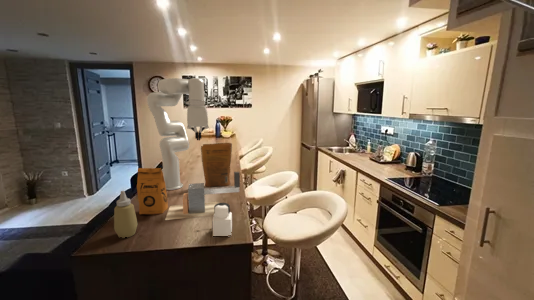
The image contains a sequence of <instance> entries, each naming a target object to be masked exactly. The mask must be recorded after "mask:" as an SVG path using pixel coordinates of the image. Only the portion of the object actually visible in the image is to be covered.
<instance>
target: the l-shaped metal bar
mask: <svg viewBox="0 0 534 300" xmlns="http://www.w3.org/2000/svg"><path fill="white" fill-rule="evenodd" d="M240 175H241V174H240V171H234V172H233V180H234V182H233V185H228V186H217V187H204V195H217V194H228V193H230V194H231V193H240V188H241V187H240V186H241V178H240Z"/></svg>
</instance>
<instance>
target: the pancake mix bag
mask: <svg viewBox="0 0 534 300" xmlns="http://www.w3.org/2000/svg"><path fill="white" fill-rule="evenodd" d="M232 150H233V143H231V142H218V143H217V142H216V143H204V144H202V145H200V155H201V163H202V170H203V171H202V172H203V176H204V180H205V182H204V187H206V188H214V187H228V186H231V178H230V175H231V163H232V152H233V151H232Z"/></svg>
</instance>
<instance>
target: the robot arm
mask: <svg viewBox="0 0 534 300" xmlns="http://www.w3.org/2000/svg"><path fill="white" fill-rule="evenodd" d="M157 88H158V90H159V92H157V91H156V92H150V93H148V94H147V97H146V103H147V106H148V109H149V112H150V113H151V114H152V116H153V119H154V122H155V126H156V129H157V132H158V134H159V136H161V137H164V138H162V139H161V140H160V141H159V148H160V152H161V160H162V172H163V177H164V181H165V185H166V191H172V190H179V189H181V188H182V187H184V184H183V183H182V182H181V173H180V171H181V170H180V159H179V156H178V155H177V154H176V153H177V152H178V153H179V152H184V151H185V152H186V151H187V150H189V148H190V142H189V137H188V134H187V130H186V128H187V129H188V130H192V131H193V132H194V133H195V134H194V137H195V138H194V139H196V141H201V139H202V138H203V137H202V132H203V131H204V130H207V129H209V128H210V127H209V116H208V109H207V106H205V105H206V103H205V102H206V101H205V81H204V80H203V79H202V78H199V77H196V78H193V77H192V78H188V79H187V78H179V77H178V78H177V77H176V78H175V77H172V78H163V79H160V80H159V81H158V82H157ZM183 95H188V101H185V105H188V106H187V111H186V122H187V123H186V125H187V126H186V127H185V125H184V123H183V122H182V121H180V120H171V119H170V117H169V113H168V112H167V110H165V109H164V108H162V107H175V106H177V105H178V104H179V102H180V99H181V98H182V96H183ZM197 127H198V128H199V130H198V129H197Z"/></svg>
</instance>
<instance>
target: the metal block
mask: <svg viewBox="0 0 534 300" xmlns="http://www.w3.org/2000/svg"><path fill="white" fill-rule="evenodd" d="M204 188H205V182H197V183H189V184H188V188H187V193H188V199H189V214H194V213H204V212H205V203H206V201H205V200H206V199H205V195H204Z"/></svg>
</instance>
